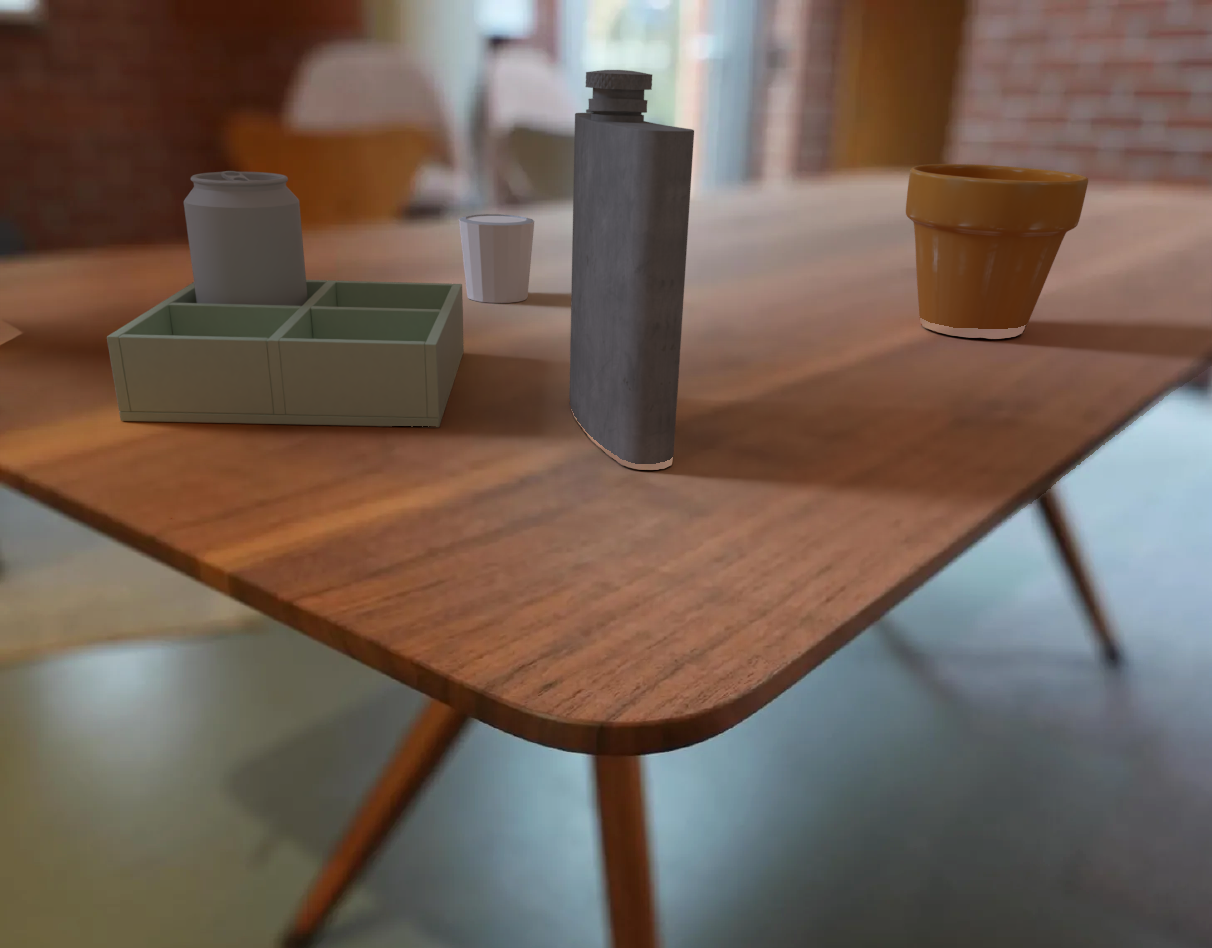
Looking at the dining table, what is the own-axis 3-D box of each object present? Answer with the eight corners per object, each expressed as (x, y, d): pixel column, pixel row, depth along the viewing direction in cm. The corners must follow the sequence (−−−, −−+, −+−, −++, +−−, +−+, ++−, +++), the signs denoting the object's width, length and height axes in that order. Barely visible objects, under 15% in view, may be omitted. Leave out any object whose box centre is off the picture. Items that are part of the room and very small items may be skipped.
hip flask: (680, 469, 62) (706, 75, 54) (609, 473, 62) (625, 72, 53) (610, 392, 76) (622, 68, 67) (552, 394, 75) (556, 65, 66)
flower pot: (955, 353, 90) (985, 181, 84) (856, 316, 101) (877, 163, 96) (1091, 343, 95) (1128, 180, 89) (982, 309, 106) (1009, 163, 101)
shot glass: (520, 288, 108) (520, 212, 105) (544, 302, 103) (545, 222, 100) (451, 291, 106) (449, 214, 103) (472, 306, 100) (470, 224, 97)
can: (233, 371, 75) (210, 181, 69) (185, 349, 80) (160, 170, 74) (332, 355, 79) (318, 176, 74) (281, 335, 84) (264, 166, 79)
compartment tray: (120, 421, 67) (106, 336, 65) (209, 346, 84) (201, 276, 82) (439, 427, 68) (436, 344, 66) (463, 352, 85) (462, 283, 83)
